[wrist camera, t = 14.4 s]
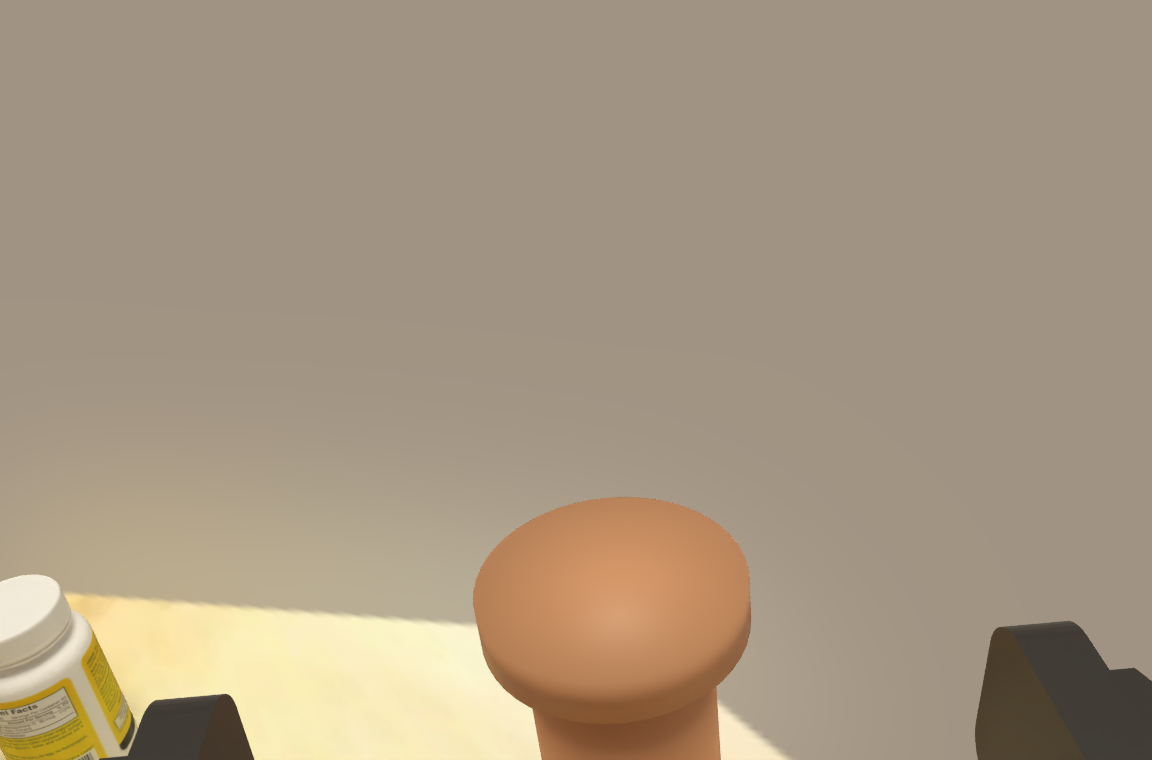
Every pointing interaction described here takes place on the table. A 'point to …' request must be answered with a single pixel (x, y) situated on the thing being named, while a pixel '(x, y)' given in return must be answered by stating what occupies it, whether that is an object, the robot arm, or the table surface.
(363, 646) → the table surface
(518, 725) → the table surface
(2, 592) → the supplement bottle
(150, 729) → the robot arm
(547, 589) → the orange capped cylinder
